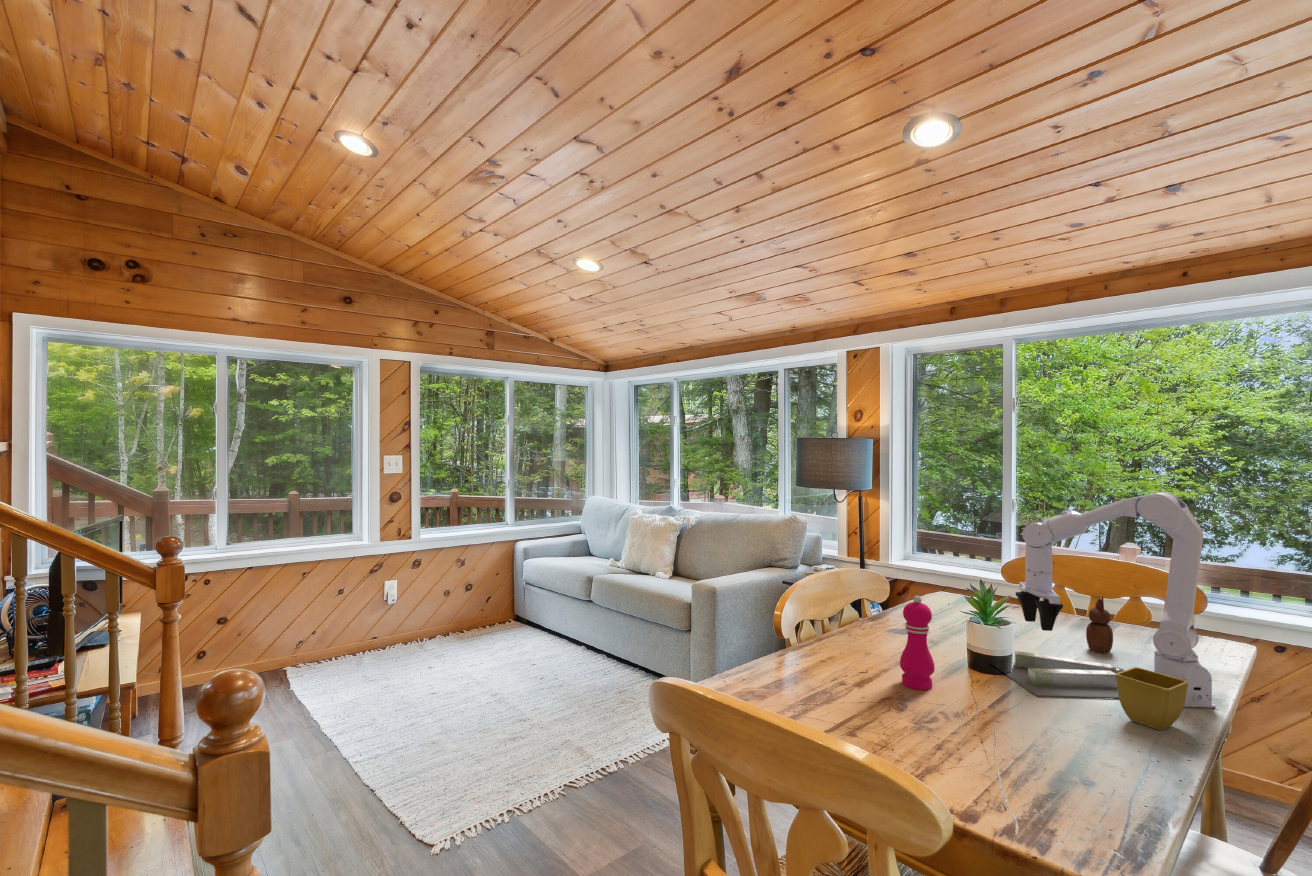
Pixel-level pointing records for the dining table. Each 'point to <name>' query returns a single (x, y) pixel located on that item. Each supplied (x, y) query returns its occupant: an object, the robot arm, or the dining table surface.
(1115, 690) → the mat
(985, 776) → the dining table surface
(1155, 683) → the flower pot
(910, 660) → the pepper mill
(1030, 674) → the fixed arm
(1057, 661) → the hinged arm
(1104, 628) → the wooden figurine
